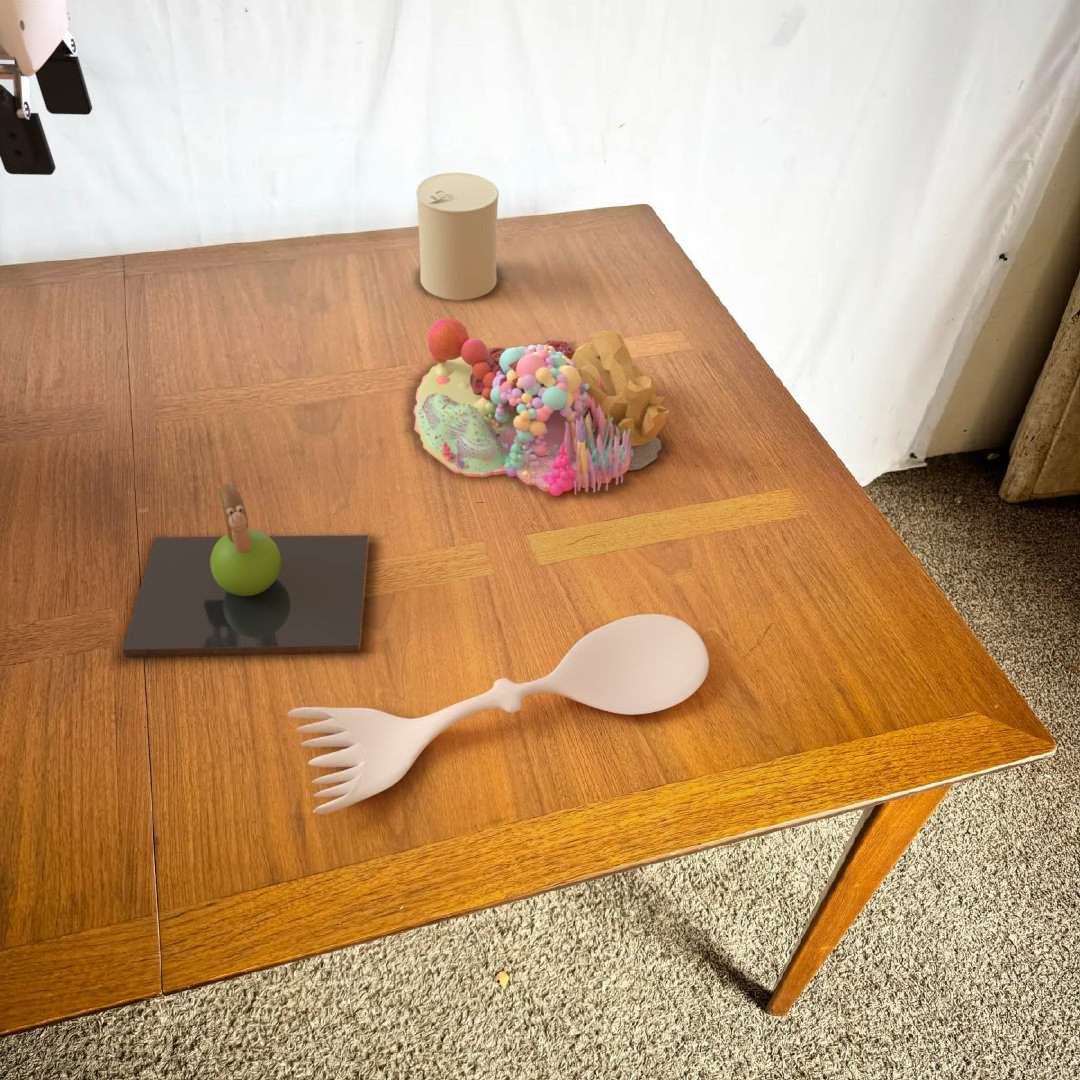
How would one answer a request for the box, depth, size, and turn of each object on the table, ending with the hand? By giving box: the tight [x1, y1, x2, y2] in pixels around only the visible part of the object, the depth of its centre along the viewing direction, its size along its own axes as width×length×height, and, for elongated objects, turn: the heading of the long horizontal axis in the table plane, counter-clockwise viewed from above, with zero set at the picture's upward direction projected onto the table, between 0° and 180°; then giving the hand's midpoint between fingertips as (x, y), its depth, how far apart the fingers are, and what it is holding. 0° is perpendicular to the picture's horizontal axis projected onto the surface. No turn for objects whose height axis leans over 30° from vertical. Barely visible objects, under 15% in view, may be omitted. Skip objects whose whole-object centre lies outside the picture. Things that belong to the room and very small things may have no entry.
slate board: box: [122, 534, 370, 658], centre depth 79 cm, size 18×12×2 cm, turn 94°
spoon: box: [286, 613, 710, 815], centre depth 72 cm, size 9×32×3 cm, turn 113°
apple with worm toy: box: [210, 482, 281, 596], centre depth 74 cm, size 5×6×12 cm
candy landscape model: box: [413, 317, 670, 497], centre depth 94 cm, size 25×24×9 cm
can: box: [415, 172, 499, 301], centre depth 110 cm, size 9×9×12 cm
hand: (52, 141), depth 69 cm, fingers open, 9 cm apart
